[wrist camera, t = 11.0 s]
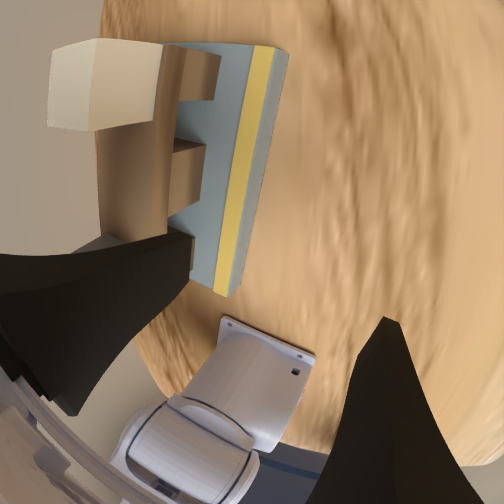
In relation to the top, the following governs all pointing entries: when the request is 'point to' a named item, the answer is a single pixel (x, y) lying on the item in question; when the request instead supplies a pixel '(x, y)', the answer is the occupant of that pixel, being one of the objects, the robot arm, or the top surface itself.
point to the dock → (229, 157)
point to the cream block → (103, 84)
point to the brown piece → (155, 154)
